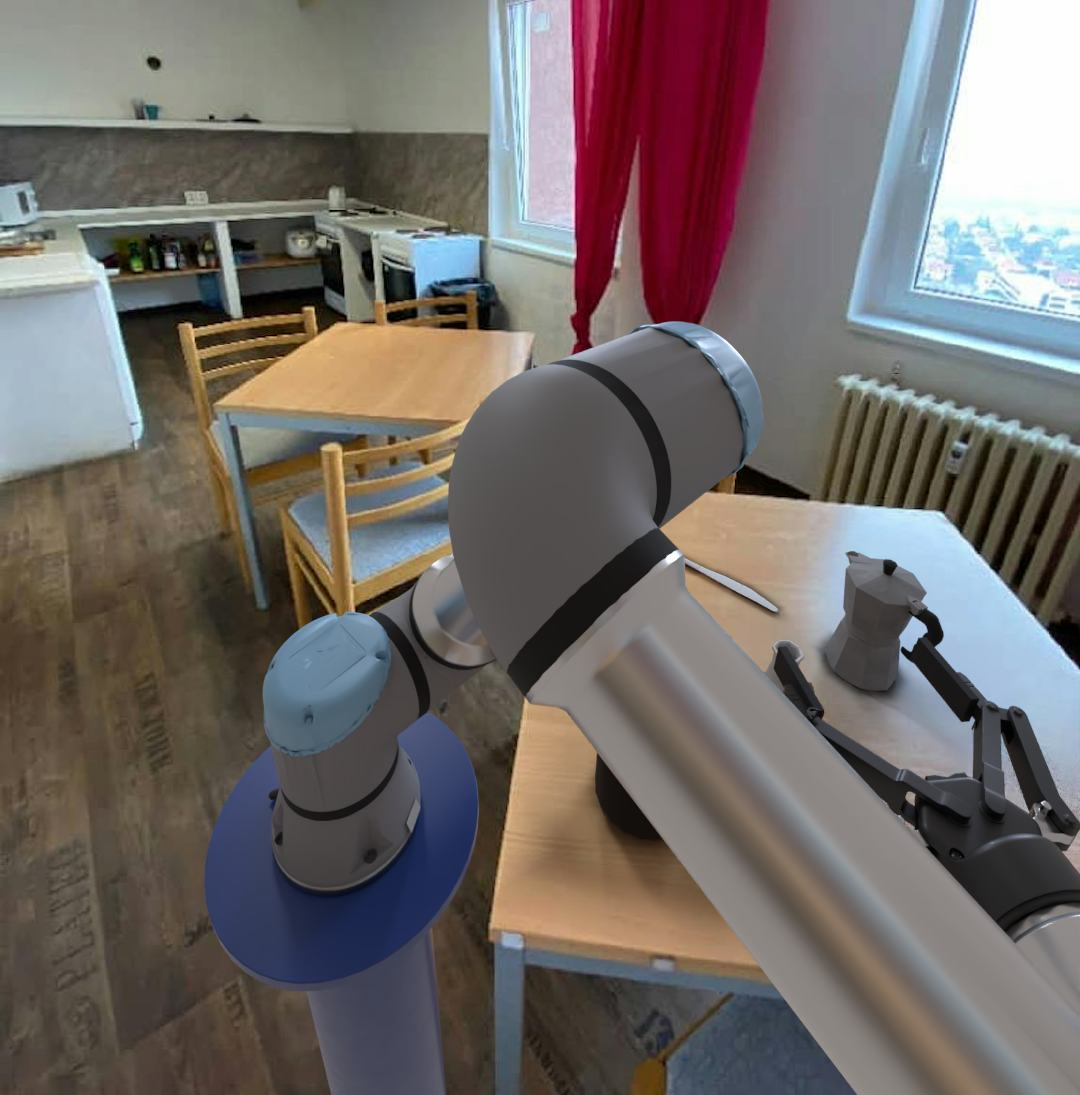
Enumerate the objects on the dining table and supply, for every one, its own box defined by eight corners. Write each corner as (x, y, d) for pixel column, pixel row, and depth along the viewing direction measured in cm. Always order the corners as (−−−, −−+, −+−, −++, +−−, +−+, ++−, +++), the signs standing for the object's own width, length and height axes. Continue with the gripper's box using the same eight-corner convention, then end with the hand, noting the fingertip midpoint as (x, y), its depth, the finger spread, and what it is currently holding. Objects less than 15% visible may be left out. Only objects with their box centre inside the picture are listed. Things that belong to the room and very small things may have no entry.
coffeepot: (800, 636, 89) (824, 537, 82) (851, 623, 92) (879, 525, 85) (883, 728, 76) (920, 619, 69) (940, 710, 78) (982, 602, 72)
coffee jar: (689, 759, 72) (708, 646, 65) (691, 858, 62) (714, 737, 55) (599, 741, 74) (609, 628, 67) (588, 833, 64) (598, 713, 57)
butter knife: (640, 527, 112) (631, 534, 110) (782, 605, 95) (774, 614, 93) (640, 530, 112) (630, 536, 110) (781, 608, 95) (773, 617, 93)
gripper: (842, 995, 37) (714, 691, 56) (1204, 948, 39) (961, 673, 59) (871, 925, 34) (726, 630, 53) (1260, 880, 36) (986, 614, 56)
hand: (849, 652), depth 56 cm, fingers open, 13 cm apart
